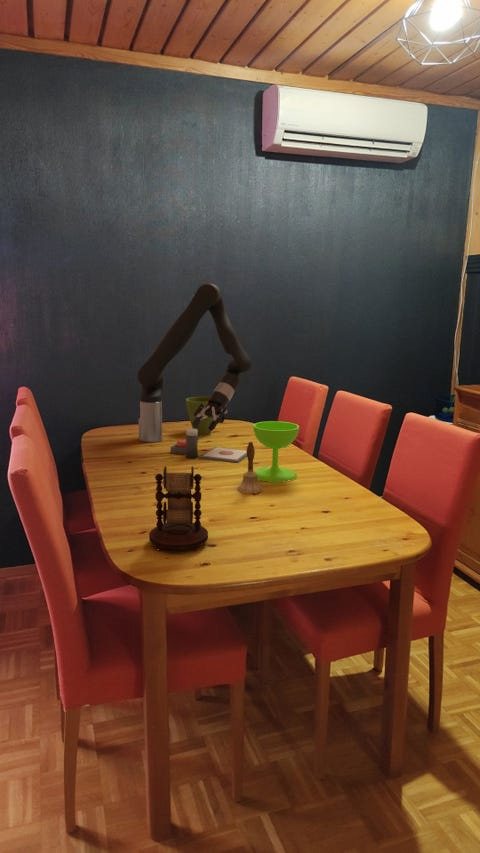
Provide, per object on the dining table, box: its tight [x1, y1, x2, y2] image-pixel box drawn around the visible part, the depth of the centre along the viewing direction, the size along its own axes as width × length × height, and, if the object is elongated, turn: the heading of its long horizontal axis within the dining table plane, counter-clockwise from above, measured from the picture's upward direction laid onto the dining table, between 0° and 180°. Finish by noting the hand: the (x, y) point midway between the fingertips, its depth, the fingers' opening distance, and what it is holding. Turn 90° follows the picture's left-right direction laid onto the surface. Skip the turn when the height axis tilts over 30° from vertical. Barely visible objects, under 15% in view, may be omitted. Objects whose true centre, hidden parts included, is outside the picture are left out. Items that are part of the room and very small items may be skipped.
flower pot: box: [185, 396, 214, 436], centre depth 266 cm, size 15×15×16 cm
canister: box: [185, 428, 199, 460], centre depth 226 cm, size 4×4×11 cm
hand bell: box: [236, 441, 263, 494], centre depth 187 cm, size 8×8×16 cm
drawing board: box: [199, 446, 247, 464], centre depth 230 cm, size 16×16×1 cm
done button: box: [176, 440, 186, 448], centre depth 234 cm, size 4×4×2 cm
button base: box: [170, 443, 186, 456], centre depth 234 cm, size 7×7×2 cm
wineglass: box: [252, 420, 300, 483], centre depth 203 cm, size 16×16×18 cm
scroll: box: [148, 465, 209, 551], centre depth 145 cm, size 15×15×20 cm
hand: (202, 428), depth 229 cm, fingers open, 8 cm apart
